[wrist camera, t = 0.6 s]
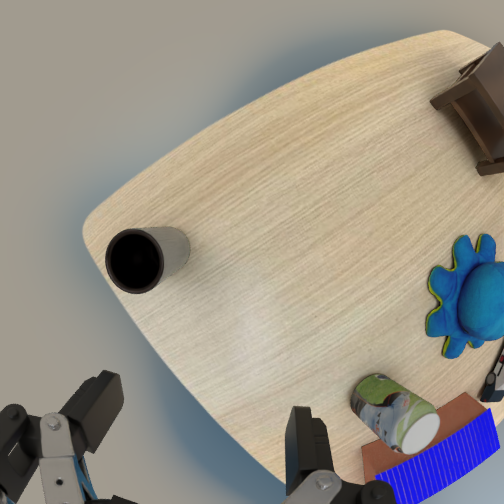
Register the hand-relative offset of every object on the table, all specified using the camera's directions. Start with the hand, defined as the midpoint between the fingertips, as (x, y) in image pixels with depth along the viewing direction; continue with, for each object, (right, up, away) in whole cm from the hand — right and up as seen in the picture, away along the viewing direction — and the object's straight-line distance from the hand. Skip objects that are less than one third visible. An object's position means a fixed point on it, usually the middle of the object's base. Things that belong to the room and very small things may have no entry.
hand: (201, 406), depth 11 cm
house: (+29, -24, +22) cm, 43 cm away
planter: (-6, +7, +18) cm, 20 cm away
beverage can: (+17, -10, +20) cm, 29 cm away
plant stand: (+34, +26, +17) cm, 46 cm away
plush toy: (+32, +1, +20) cm, 37 cm away
